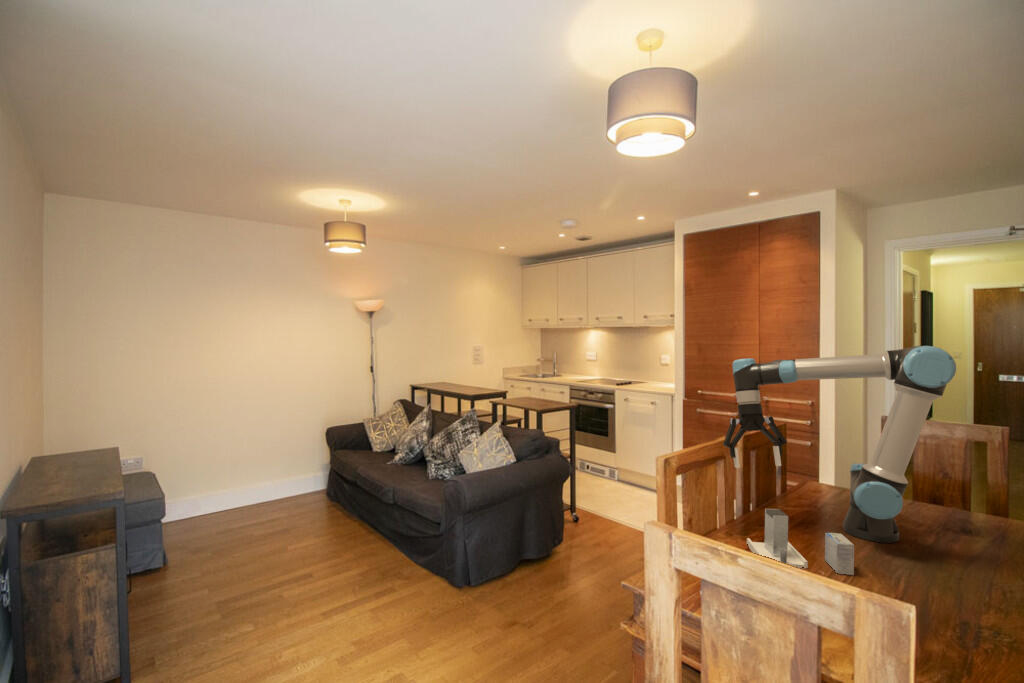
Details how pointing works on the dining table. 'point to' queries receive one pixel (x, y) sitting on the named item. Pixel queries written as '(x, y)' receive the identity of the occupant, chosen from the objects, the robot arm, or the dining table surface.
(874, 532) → the robot arm
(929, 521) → the dining table surface
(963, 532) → the dining table surface
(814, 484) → the dining table surface
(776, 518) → the block
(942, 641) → the dining table surface
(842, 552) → the medicine box
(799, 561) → the tray
